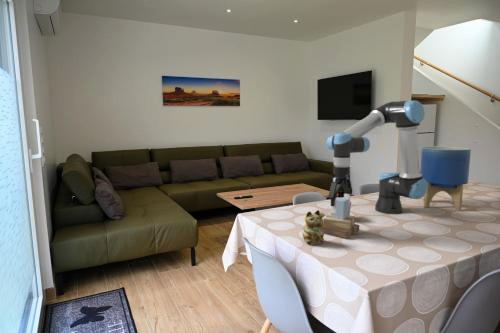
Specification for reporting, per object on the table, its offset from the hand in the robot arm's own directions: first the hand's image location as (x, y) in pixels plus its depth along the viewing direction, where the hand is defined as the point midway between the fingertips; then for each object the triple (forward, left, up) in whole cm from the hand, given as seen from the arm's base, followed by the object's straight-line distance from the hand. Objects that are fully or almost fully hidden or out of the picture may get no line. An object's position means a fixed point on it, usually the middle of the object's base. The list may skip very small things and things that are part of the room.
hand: (340, 209), depth 158 cm
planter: (-88, +25, -11) cm, 92 cm away
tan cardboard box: (0, 0, -12) cm, 12 cm away
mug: (-21, -8, -11) cm, 25 cm away
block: (0, 0, -4) cm, 4 cm away
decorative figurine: (+20, -3, -11) cm, 23 cm away
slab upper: (0, 0, -8) cm, 8 cm away
